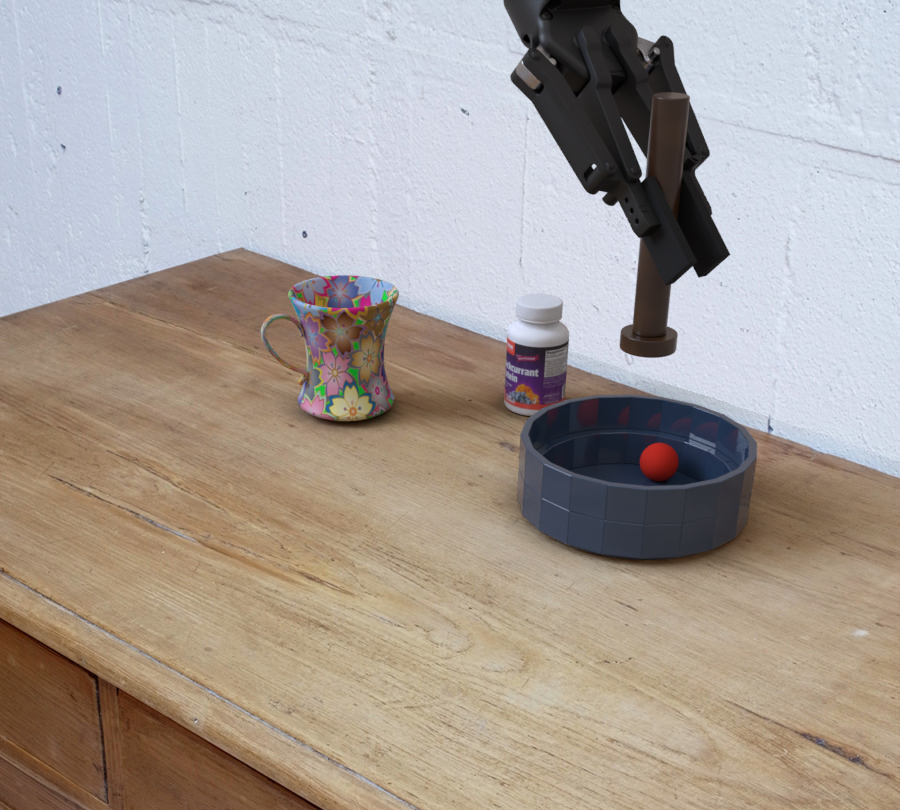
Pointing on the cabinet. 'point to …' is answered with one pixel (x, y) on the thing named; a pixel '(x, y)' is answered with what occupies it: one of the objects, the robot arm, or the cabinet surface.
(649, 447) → the red ball
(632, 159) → the robot arm
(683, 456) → the bowl
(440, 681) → the cabinet surface
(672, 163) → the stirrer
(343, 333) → the mug
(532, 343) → the pill bottle
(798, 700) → the cabinet surface
